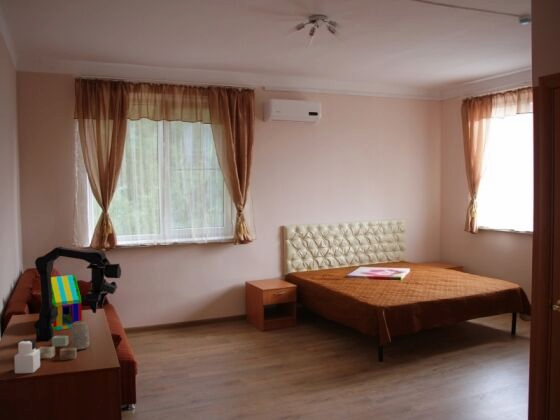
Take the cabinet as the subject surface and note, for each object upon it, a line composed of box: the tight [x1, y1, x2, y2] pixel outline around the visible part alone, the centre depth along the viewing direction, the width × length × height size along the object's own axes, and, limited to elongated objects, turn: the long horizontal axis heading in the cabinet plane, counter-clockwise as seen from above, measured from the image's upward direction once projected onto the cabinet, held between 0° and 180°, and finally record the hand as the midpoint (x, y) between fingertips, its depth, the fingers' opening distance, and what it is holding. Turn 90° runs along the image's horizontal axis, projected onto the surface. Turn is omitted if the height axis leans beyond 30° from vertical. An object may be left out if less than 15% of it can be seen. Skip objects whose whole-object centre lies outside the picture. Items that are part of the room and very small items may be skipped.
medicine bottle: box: [13, 338, 41, 374], centre depth 199 cm, size 7×7×12 cm
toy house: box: [51, 274, 83, 332], centre depth 264 cm, size 24×14×25 cm, turn 35°
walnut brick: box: [59, 347, 78, 361], centre depth 213 cm, size 6×4×4 cm, turn 102°
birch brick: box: [36, 345, 56, 359], centre depth 214 cm, size 6×4×4 cm, turn 92°
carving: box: [70, 320, 90, 351], centre depth 224 cm, size 6×8×12 cm
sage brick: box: [51, 335, 69, 347], centre depth 229 cm, size 6×4×4 cm, turn 92°
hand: (97, 310), depth 237 cm, fingers open, 9 cm apart
